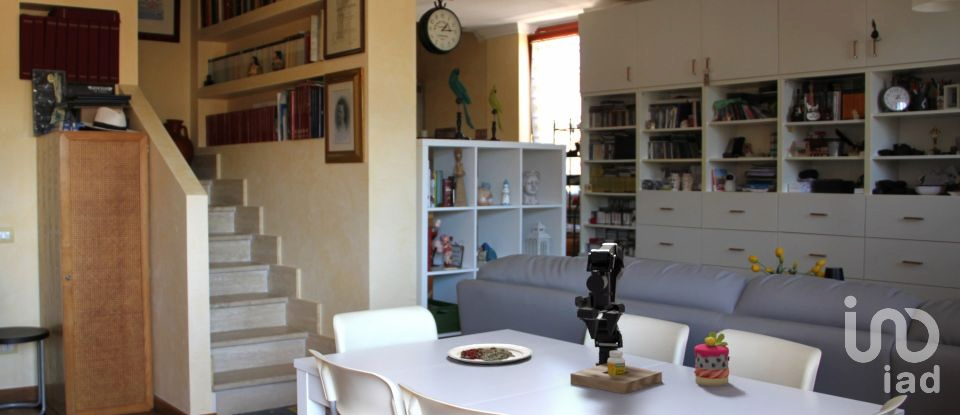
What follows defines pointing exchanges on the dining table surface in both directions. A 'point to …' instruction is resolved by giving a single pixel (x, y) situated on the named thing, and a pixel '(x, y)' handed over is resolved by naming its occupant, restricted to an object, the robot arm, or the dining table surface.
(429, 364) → the dining table surface
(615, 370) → the supplement bottle
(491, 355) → the plated food
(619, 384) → the socket block
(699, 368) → the cake
